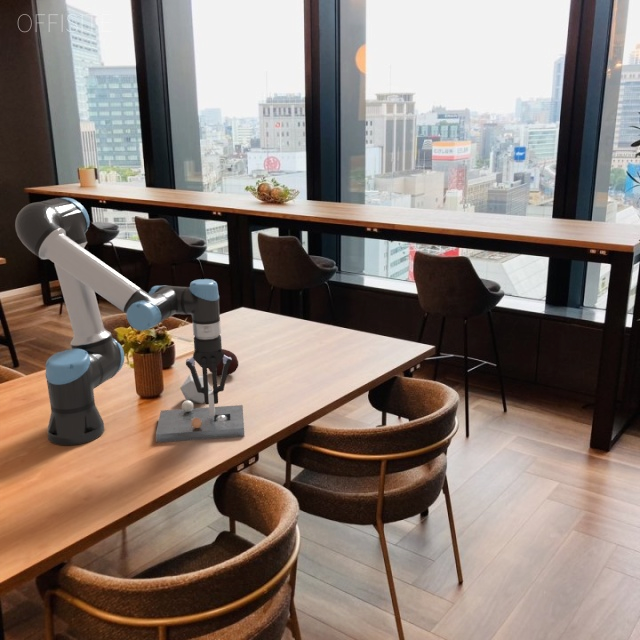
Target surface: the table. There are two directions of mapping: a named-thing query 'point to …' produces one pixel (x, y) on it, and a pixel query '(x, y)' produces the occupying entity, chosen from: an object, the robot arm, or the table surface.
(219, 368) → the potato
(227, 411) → the grey board with recess
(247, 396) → the table surface
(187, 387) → the die
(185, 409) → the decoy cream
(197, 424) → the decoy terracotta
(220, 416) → the steel ball
